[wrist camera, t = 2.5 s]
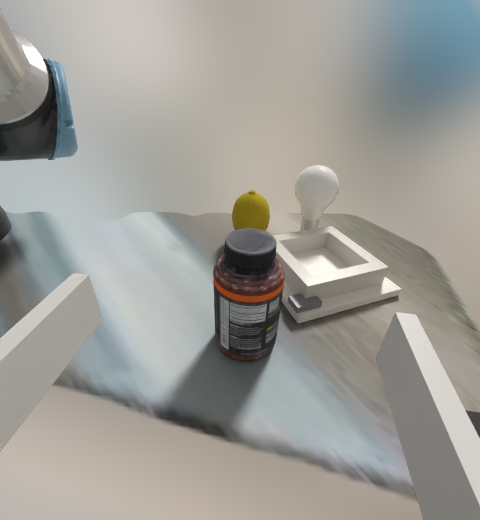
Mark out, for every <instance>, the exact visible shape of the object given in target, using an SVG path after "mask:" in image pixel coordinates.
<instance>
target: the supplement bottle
mask: <svg viewBox="0 0 480 520" xmlns="http://www.w3.org/2000/svg"><path fill="white" fill-rule="evenodd" d="M276 245H277V242H276V239H275V238H274V237H273V236H272V235H271V234H270V233H268V232H266V231H263V230H258V229H251V228H247V229H239V230H235V231H233V232H231V233H230V234H228V236H227V237H226V239H225V250H224V252H225V253H224V254H223V255H222V256H220V257H219V259H218V260H217V261H216V263H215V266H214V270H213V271H214V281H213V282H214V307H215V334H216V341H217V344H218V346H219V348H220V349H221V350H222V351H223V352H224V353H225V354H226V355H228V356H229V357H231V358H234V359H236V360H241V361H252V360H257V359H260V358H262V357H264V356H265V355H267V354H268V353H269V352H270V351H271V349H272V348H273V346H274V344H275V340H276V336H277V329H278V322H279V315H280V308H281V302H282V295H283V288H284V280H285V270H284V267H283V264H282V262H281V261H280V260H279V258H278V257H276Z"/></svg>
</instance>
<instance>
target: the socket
mask: <svg viewBox="0 0 480 520" xmlns="http://www.w3.org/2000/svg"><path fill="white" fill-rule="evenodd" d="M273 237H274V238H275V239H276V242H277V245H276V257H278V258H279V260H280V261H281V262H282V264H283V267H284V270H285V280H284V288H283V295H282V303H283V304H284V306H285V307H286V308H287V310H288V311H289V312H290V314H291V315H292V316H293V318H294V319H295V320H296V322H297V323H298V324H299V323H302V322H306V321H309V320H313V319H316V318H320V317H323V316H327V315H331V314H334V313H338V312H341V311H345V310H348V309H352V308H355V307H359V306H363V305H366V304H370V303H373V302H377V301H380V300H384V299H387V298H391V297H394V296H398V295H399V293H400V291H401V288H399V287H398V286H397V285H395V284H394V283H393V282H391V281H390V280H389V279H388V278H386V277H385V275H386V273H387V270H388V268H389V267H388V266H386V265H385V264H384V263H382V262H381V261H379V260H378V259H377V258H375V257H374V256H372V255H371V254H370V253H368V252H367V251H365V250H364V249H363V248H361V247H360V246H359V245H357V244H356V243H354V242H353V241H352V240H350V239H349V238H347V237H346V236H345V235H343V234H342V233H340V232H339V231H338V230H336V229H335V228H333V227H332V226H329V227H323V228H317V229H311V230H305V231H299V232H293V233H287V234H280V235H274V236H273Z"/></svg>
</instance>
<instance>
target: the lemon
mask: <svg viewBox="0 0 480 520" xmlns="http://www.w3.org/2000/svg"><path fill="white" fill-rule="evenodd" d="M269 219H270V213H269V206H268V203H267V201H266V200H265V199H264V197H263V196H262V195H260V194H258V193H256V192H255V191H253V190H251V191H250V192H247V193H245V194H243V195H241V196H240V197H239V198H238V199H237V201H236V202H235V205H234V208H233V213H232V221H233V226H234V229H235V230H239V229H247V228H251V229H258V230H263V231H266V229H267V227H268V224H269Z"/></svg>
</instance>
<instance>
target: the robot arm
mask: <svg viewBox="0 0 480 520" xmlns="http://www.w3.org/2000/svg"><path fill="white" fill-rule="evenodd" d="M76 151H77V140H76V135H75V129H74V124H73V118H72V112H71V106H70V100H69V95H68V89H67V84H66V79H65V73H64V69H63V67H62V65H61V64H60V63H58V62H55V61H51V60H49V59H42V57H41V55H40V54H39V53H38V51H37V50H36V48H35V47H34V46H33V45H32V44H31V43H30V42H29V41H28V40H26V39H25V38H24V37H23V36H21V35H20V34H19V33H17V32H16V31H14V30H12V29H11V28H10V27H9V25H8V23H7V21H6V19H5V17H4V15H3V13H2V11H1V9H0V161H11V160H29V159H49V160H54V159H55V158H60V157H70V156H72V155H74V154H75V153H76ZM10 229H11V223H10V221H9V219H8V217H7V215H6V212H5V211H4V210H3V209H2V208H1V206H0V239H1V238H3V237H4V236H5V235H6V234H7V233H8V232H9V230H10ZM102 320H103V318H102V315H101V312H100V308H99V305H98V302H97V299H96V296H95V293H94V290H93V286H92V283H91V280H90V277H89V275H85V274H76V273H73V274H72V275H71V276H69V277H68V278H67V279H66V280H65V281H64V282H63V283H62V284H60V285H59V286H58V287H57V288H56V289H55V290H54V291H53V292H52V293H50V294H49V295H48V296H47V297H46V298H45V299H44V300H43V301H41V302H40V303H39V304H38V305H37V306H36V307H35V308H34V309H33V310H31V311H30V312H29V313H28V314H27V315H26V316H25V317H24V318H23V319H21V320H20V321H19V322H18V323H17V324H16V325H15V326H14V327H12V328H11V329H10V330H9V331H8V332H7V333H6V334H5V335H4V336H2V337H1V338H0V451H1V450H2V449H3V447H4V446H5V445H6V443H7V442H8V441H9V439H10V438H11V437H12V436H13V434H14V433H15V432H16V430H17V429H18V428H19V427H20V425H21V424H22V423H23V422H24V420H25V419H26V418H27V416H28V415H29V414H30V413H31V411H32V410H33V409H34V407H35V406H36V405H37V404H38V402H39V401H40V400H41V398H42V397H43V396H44V395H45V393H46V392H47V391H48V390H49V388H50V387H51V386H52V384H53V383H54V382H55V381H56V379H57V378H58V377H59V375H60V374H61V373H62V372H63V370H64V369H65V368H66V366H67V365H68V364H69V363H70V361H71V360H72V359H73V358H74V356H75V355H76V354H77V352H78V351H79V350H80V349H81V347H82V346H83V345H84V343H85V342H86V341H87V340H88V338H89V337H90V336H91V334H92V333H93V332H94V331H95V329H96V328H97V327H98V325H99V324H100V323H101V322H102ZM376 360H377V364H378V367H379V371H380V374H381V377H382V381H383V384H384V387H385V391H386V394H387V398H388V401H389V404H390V408H391V411H392V415H393V418H394V421H395V425H396V428H397V432H398V435H399V438H400V442H401V445H402V449H403V452H404V455H405V459H406V462H407V465H408V469H409V472H410V476H411V479H412V482H413V486H414V489H415V493H416V496H417V499H418V503H419V506H420V510H421V513H422V516H423V520H480V413H478V412H472V411H465V409H464V407H463V405H462V403H461V401H460V399H459V397H458V395H457V393H456V391H455V389H454V388H453V386H452V384H451V382H450V380H449V378H448V376H447V374H446V372H445V370H444V368H443V366H442V364H441V362H440V360H439V359H438V357H437V355H436V353H435V351H434V349H433V347H432V345H431V343H430V341H429V339H428V337H427V335H426V333H425V331H424V329H423V328H422V326H421V324H420V322H419V320H418V318H417V316H416V315H414V314H406V313H397V312H395V315H394V317H393V319H392V321H391V324H390V326H389V328H388V331H387V333H386V335H385V338H384V340H383V342H382V344H381V347H380V349H379V351H378V354H377V356H376Z"/></svg>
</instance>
